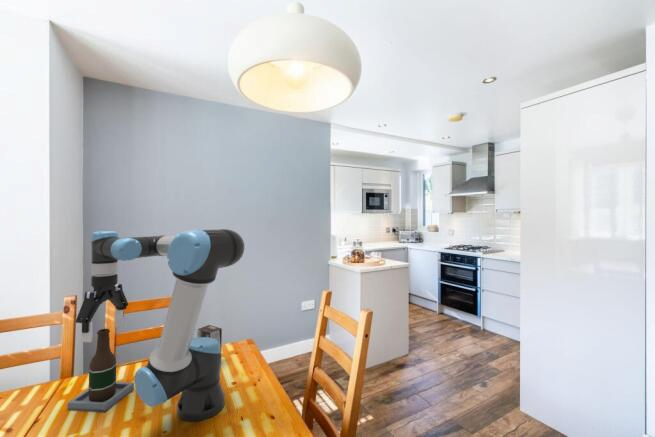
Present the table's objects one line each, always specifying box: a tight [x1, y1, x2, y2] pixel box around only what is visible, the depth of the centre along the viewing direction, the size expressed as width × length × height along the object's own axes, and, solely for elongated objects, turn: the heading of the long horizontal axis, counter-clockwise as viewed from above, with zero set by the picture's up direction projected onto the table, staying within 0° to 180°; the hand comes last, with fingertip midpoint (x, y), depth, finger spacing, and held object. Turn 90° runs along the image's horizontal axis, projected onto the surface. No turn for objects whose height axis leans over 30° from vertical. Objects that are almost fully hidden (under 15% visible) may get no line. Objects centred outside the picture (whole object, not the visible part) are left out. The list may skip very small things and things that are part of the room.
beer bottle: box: [88, 328, 117, 402], centre depth 107 cm, size 8×8×24 cm
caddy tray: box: [66, 381, 135, 413], centre depth 107 cm, size 13×13×2 cm
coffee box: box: [196, 324, 223, 366], centre depth 133 cm, size 9×6×16 cm
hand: (104, 334), depth 107 cm, fingers open, 13 cm apart
